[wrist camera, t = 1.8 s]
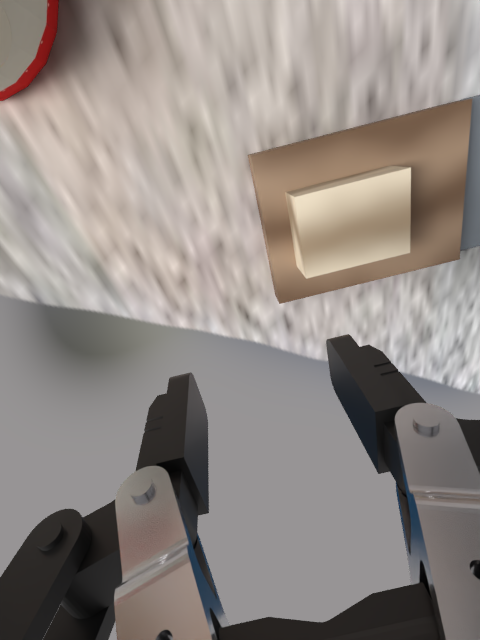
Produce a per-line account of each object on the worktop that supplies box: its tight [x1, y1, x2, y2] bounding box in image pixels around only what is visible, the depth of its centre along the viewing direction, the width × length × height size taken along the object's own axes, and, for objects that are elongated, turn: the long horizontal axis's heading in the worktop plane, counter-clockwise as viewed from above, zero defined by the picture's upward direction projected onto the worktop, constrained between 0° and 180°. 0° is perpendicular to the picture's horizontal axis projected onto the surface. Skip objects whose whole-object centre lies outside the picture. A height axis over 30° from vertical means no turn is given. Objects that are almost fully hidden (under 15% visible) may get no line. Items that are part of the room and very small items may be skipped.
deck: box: [248, 99, 472, 304], centre depth 28 cm, size 12×16×2 cm
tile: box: [285, 165, 411, 279], centre depth 25 cm, size 6×8×3 cm
